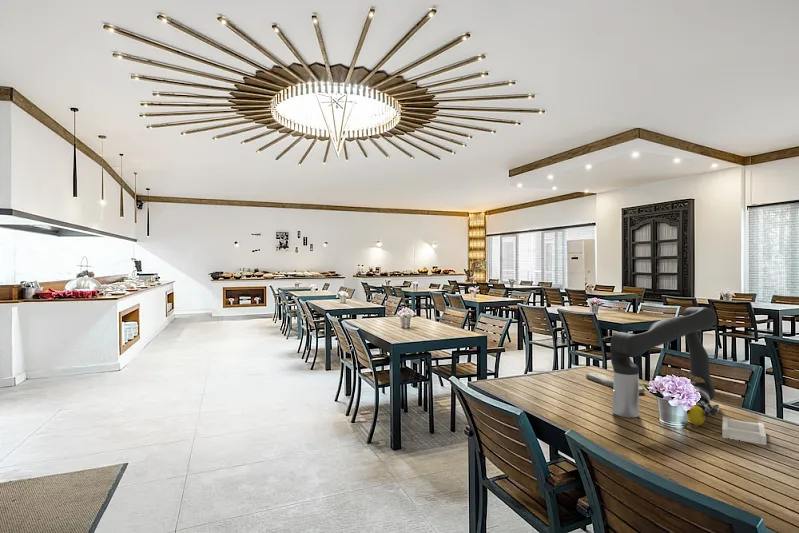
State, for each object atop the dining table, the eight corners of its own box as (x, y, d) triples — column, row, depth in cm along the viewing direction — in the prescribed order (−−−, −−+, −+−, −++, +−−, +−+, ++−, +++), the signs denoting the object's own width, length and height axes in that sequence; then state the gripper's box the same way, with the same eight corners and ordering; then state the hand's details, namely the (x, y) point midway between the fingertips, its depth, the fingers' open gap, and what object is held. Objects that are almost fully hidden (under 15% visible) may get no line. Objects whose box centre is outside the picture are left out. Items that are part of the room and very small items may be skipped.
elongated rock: (595, 378, 244) (581, 381, 240) (594, 369, 244) (580, 371, 241) (651, 392, 211) (635, 396, 208) (650, 381, 211) (634, 384, 208)
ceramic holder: (722, 437, 158) (722, 429, 158) (722, 424, 170) (722, 416, 170) (766, 445, 151) (766, 436, 151) (763, 431, 163) (763, 423, 163)
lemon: (708, 429, 166) (707, 407, 166) (691, 428, 167) (691, 407, 167) (701, 424, 171) (701, 403, 171) (685, 423, 172) (685, 402, 172)
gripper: (677, 388, 185) (673, 399, 171) (720, 394, 176) (719, 405, 163) (677, 406, 185) (673, 418, 171) (720, 413, 176) (719, 426, 163)
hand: (696, 412), depth 167 cm, fingers closed on lemon, 5 cm apart
